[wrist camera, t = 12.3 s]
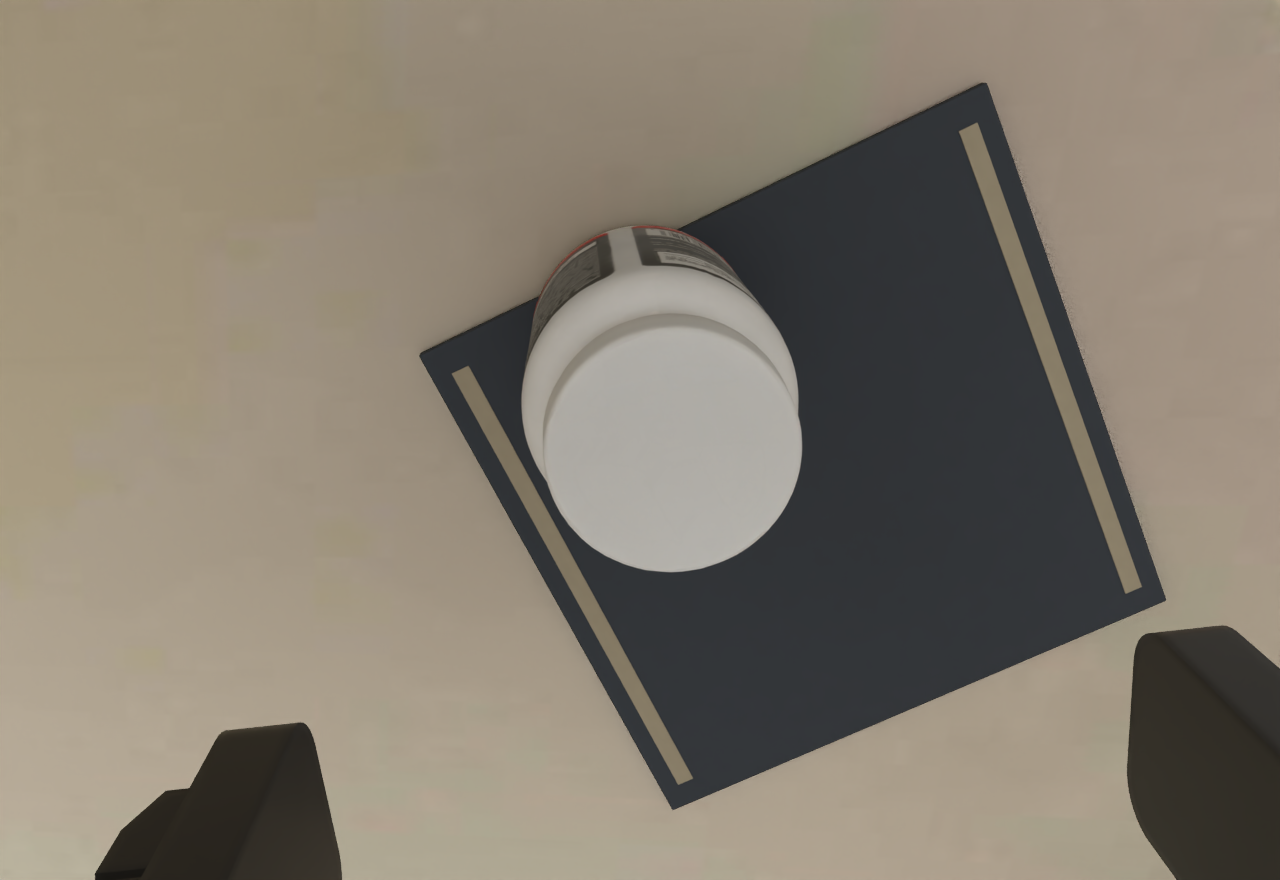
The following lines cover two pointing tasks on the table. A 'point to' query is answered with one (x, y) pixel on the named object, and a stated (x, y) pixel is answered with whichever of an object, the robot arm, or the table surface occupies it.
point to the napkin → (855, 467)
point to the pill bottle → (660, 401)
